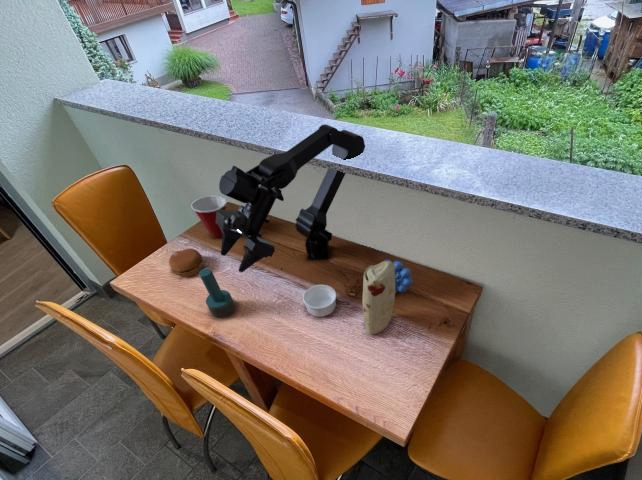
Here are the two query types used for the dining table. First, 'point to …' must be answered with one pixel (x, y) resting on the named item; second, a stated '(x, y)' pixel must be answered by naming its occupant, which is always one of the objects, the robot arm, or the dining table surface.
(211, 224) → the plastic cup
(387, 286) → the food model
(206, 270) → the teal peg stand
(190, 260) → the burger
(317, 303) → the ramekin
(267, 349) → the dining table surface
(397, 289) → the grapes
